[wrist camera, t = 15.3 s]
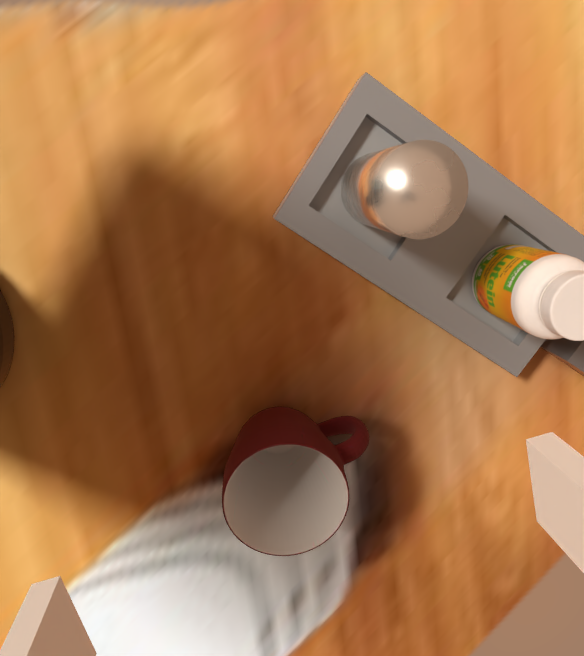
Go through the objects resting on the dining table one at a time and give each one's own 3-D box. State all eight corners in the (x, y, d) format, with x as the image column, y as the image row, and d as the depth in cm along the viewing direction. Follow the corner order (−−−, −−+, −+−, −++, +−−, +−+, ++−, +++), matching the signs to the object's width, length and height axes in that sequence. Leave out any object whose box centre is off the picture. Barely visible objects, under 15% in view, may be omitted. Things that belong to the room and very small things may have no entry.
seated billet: (326, 200, 37) (355, 205, 28) (367, 137, 36) (411, 119, 27) (384, 239, 38) (431, 257, 29) (425, 178, 37) (487, 175, 28)
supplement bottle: (479, 238, 39) (553, 254, 29) (548, 248, 39) (642, 268, 30) (462, 309, 40) (527, 346, 31) (529, 319, 41) (613, 358, 31)
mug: (325, 351, 42) (349, 400, 32) (370, 432, 44) (405, 502, 34) (207, 414, 42) (196, 482, 33) (257, 492, 44) (261, 577, 35)
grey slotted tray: (272, 216, 39) (274, 218, 36) (358, 79, 37) (365, 72, 34) (501, 366, 43) (517, 377, 41) (588, 251, 41) (609, 255, 39)
